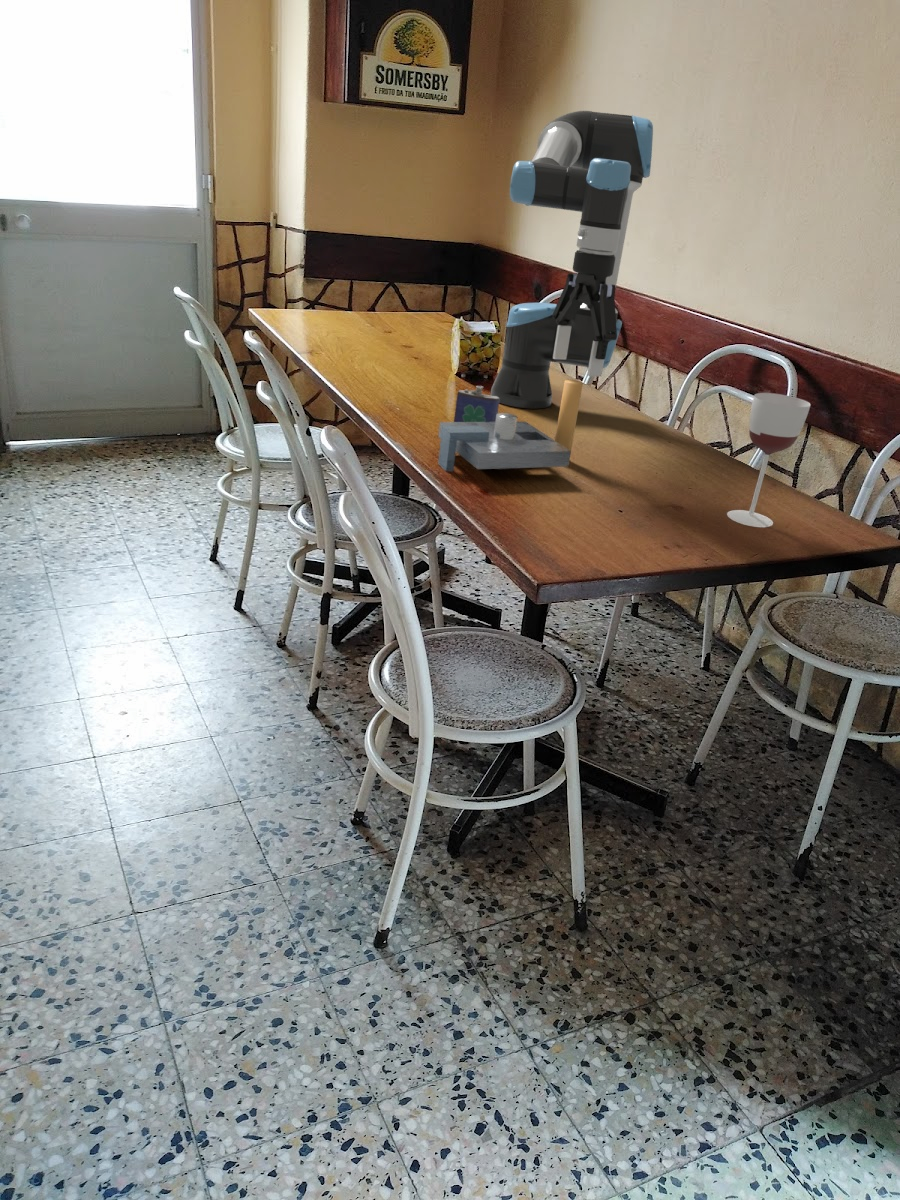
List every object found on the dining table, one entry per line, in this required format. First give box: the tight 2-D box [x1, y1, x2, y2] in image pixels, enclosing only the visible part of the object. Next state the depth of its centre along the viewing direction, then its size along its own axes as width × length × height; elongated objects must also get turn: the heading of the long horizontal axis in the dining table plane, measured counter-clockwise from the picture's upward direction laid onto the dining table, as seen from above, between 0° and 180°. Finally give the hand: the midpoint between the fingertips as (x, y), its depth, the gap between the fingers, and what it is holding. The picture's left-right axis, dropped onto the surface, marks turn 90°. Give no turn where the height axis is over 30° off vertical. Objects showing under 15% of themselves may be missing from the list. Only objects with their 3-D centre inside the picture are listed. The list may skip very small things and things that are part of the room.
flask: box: [453, 385, 500, 422], centre depth 195 cm, size 9×3×11 cm, turn 74°
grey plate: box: [437, 412, 572, 472], centre depth 178 cm, size 22×19×10 cm
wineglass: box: [726, 392, 811, 528], centre depth 164 cm, size 9×10×22 cm
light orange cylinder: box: [554, 379, 584, 456], centre depth 185 cm, size 4×4×16 cm
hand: (576, 367), depth 180 cm, fingers open, 13 cm apart
